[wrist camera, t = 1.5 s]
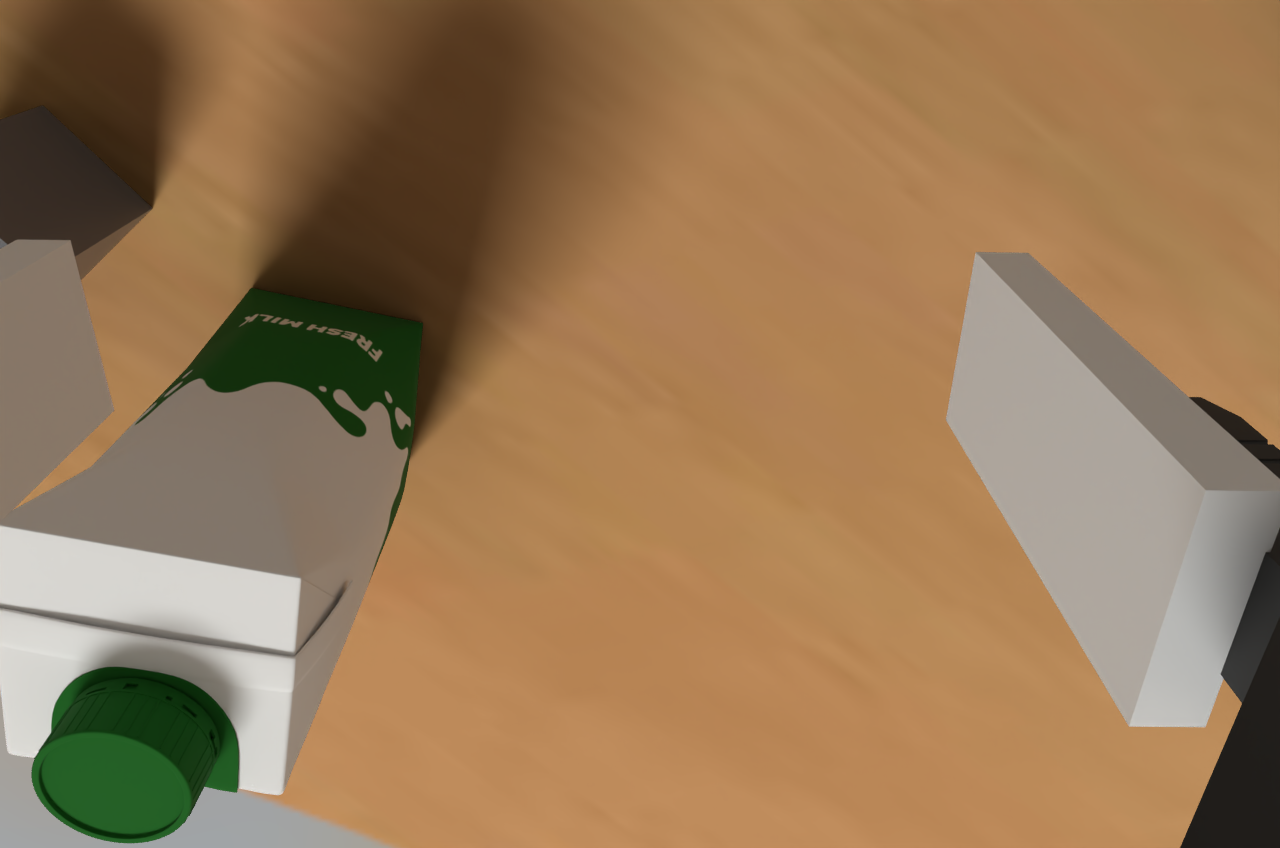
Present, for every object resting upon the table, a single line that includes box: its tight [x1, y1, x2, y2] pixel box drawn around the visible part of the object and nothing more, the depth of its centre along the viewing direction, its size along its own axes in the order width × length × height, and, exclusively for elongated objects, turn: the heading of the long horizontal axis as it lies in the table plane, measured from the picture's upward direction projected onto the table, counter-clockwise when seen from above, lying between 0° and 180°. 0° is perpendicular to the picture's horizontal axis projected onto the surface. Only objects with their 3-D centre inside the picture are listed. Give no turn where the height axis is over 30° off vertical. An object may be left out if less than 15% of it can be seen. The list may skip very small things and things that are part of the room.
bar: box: [0, 105, 152, 280], centre depth 35 cm, size 5×5×8 cm
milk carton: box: [0, 288, 423, 843], centre depth 33 cm, size 9×9×20 cm
